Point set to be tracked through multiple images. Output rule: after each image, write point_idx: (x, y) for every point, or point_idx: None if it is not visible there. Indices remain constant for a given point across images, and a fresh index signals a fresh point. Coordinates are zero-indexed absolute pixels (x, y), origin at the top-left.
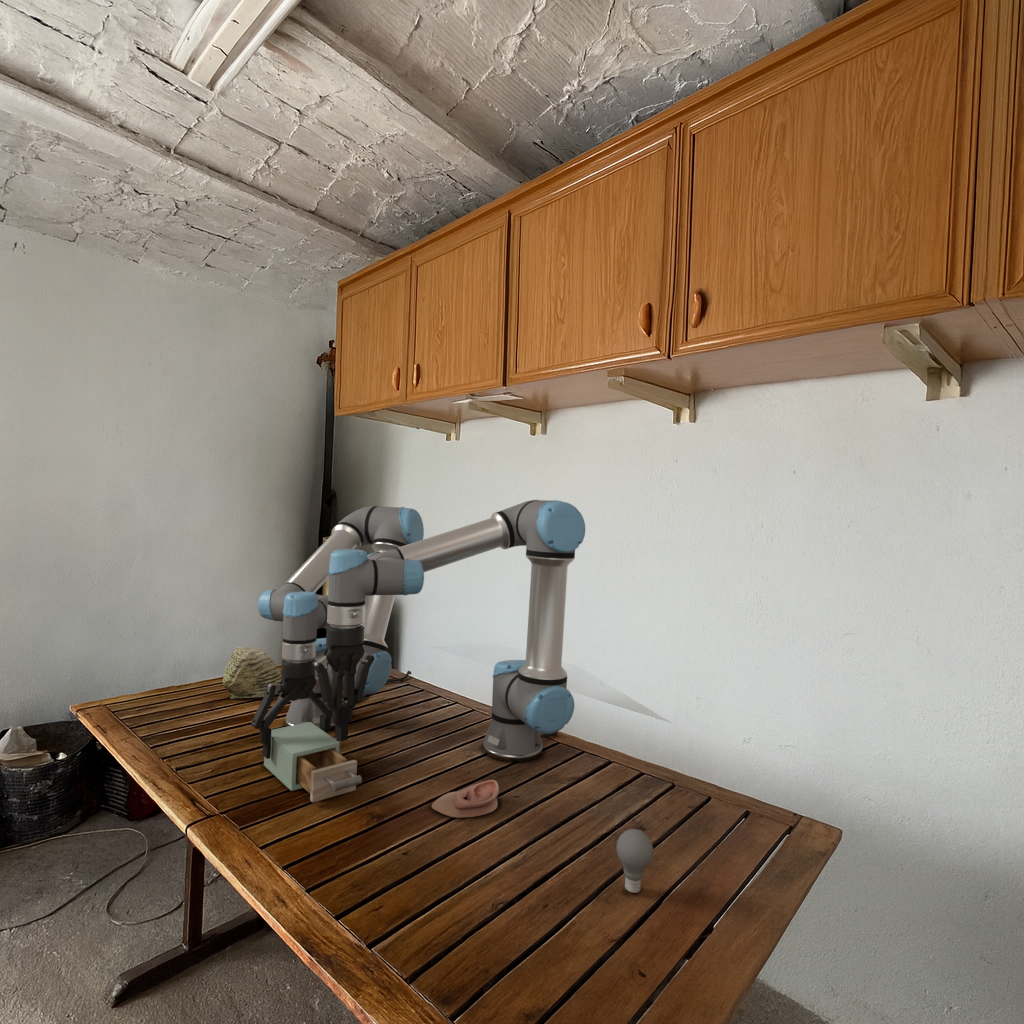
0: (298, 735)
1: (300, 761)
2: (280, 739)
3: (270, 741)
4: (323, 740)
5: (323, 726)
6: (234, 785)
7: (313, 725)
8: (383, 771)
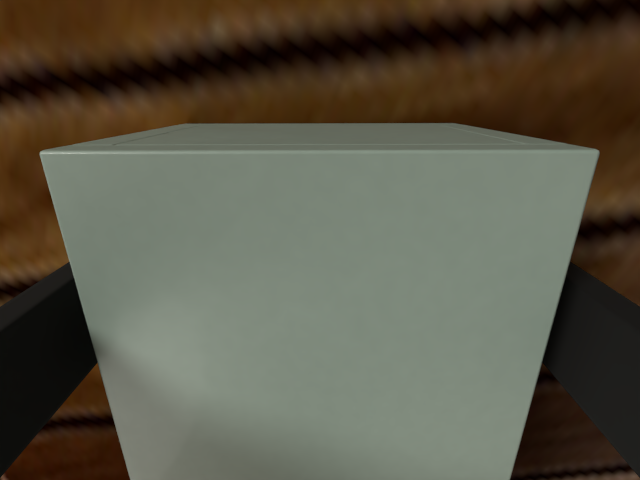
0: (305, 421)
1: None
2: (146, 422)
3: (72, 387)
4: None
5: (583, 386)
6: (18, 265)
7: (548, 279)
8: (580, 454)
